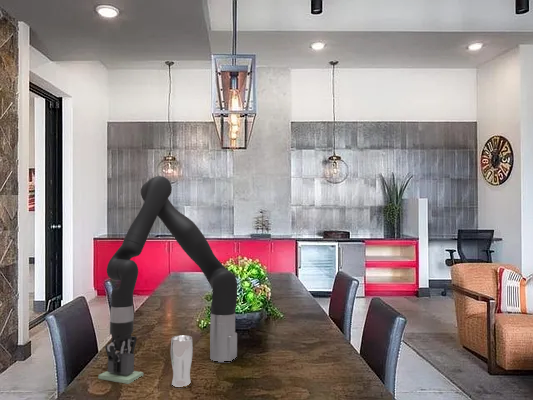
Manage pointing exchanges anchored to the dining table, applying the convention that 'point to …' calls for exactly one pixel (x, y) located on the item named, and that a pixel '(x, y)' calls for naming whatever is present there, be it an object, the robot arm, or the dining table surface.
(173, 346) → the beer glass
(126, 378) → the header board
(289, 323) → the dining table surface
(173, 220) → the robot arm
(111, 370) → the block
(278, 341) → the dining table surface
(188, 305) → the dining table surface
